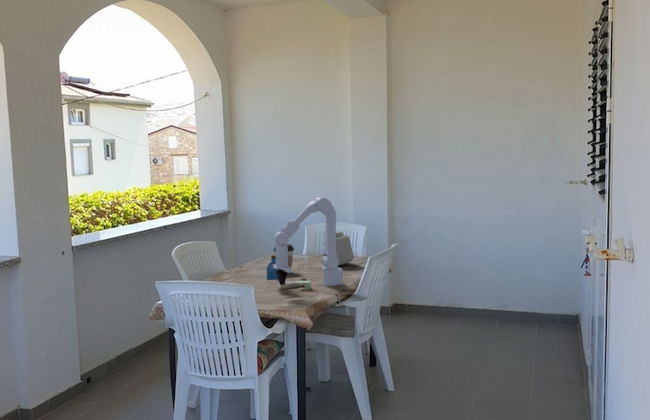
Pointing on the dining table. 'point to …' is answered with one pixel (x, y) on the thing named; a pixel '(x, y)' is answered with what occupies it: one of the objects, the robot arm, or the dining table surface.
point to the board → (296, 289)
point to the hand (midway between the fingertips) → (282, 285)
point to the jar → (343, 248)
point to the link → (289, 285)
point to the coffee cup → (290, 254)
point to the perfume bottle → (272, 269)
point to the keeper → (306, 283)
